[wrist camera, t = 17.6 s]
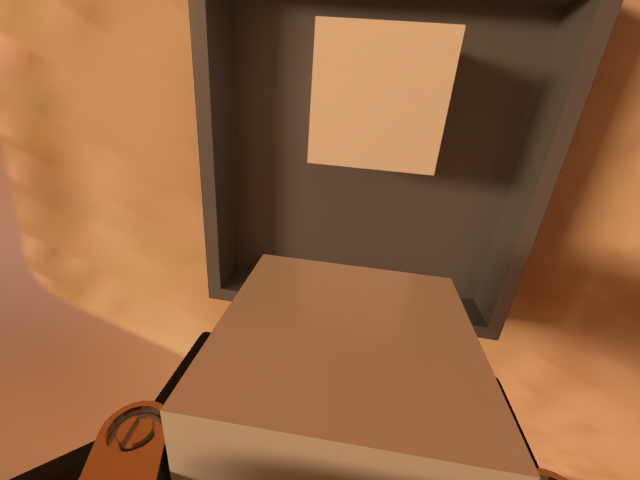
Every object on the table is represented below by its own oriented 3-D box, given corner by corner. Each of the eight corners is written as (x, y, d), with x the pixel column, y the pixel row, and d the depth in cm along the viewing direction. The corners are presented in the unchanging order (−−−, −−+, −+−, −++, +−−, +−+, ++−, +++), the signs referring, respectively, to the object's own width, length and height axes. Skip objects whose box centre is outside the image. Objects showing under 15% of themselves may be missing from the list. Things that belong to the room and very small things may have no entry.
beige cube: (451, 278, 10) (540, 478, 5) (414, 413, 12) (448, 648, 7) (263, 253, 10) (160, 410, 5) (262, 388, 12) (189, 589, 7)
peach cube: (438, 44, 17) (465, 25, 12) (417, 154, 19) (434, 175, 14) (331, 38, 18) (315, 15, 13) (323, 145, 20) (307, 162, 15)
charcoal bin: (577, -7, 16) (636, -36, 13) (478, 302, 24) (498, 340, 20) (221, -25, 18) (184, -55, 14) (232, 268, 25) (209, 297, 22)
